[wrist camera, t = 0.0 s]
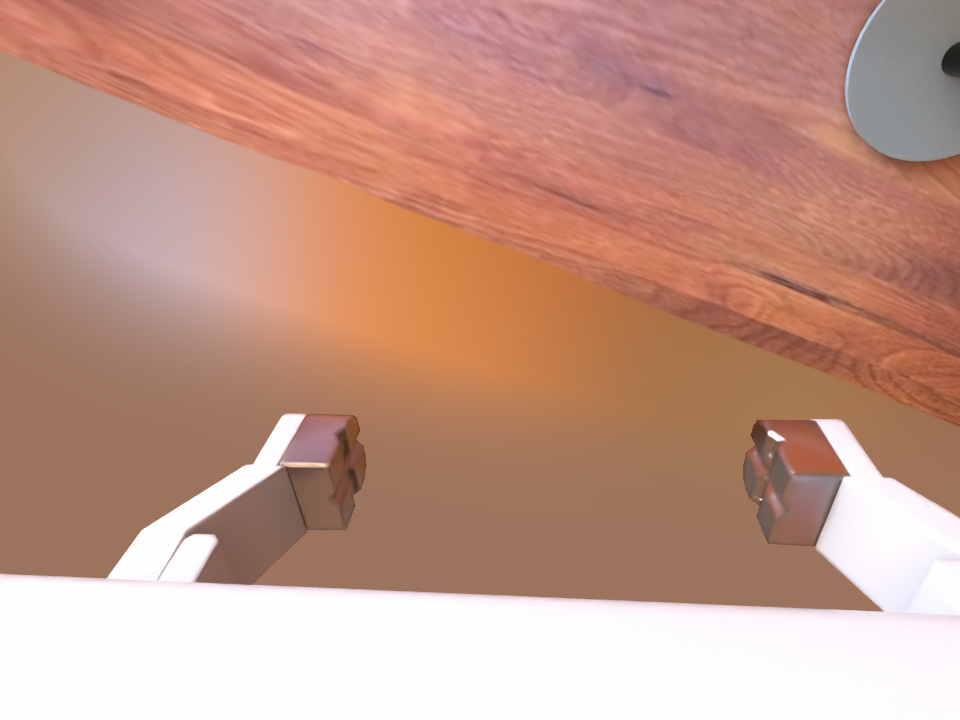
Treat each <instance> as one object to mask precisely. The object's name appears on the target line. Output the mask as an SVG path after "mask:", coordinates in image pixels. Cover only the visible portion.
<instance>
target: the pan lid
mask: <svg viewBox="0 0 960 720" xmlns="http://www.w3.org/2000/svg"><path fill="white" fill-rule="evenodd" d="M845 101H846V107H847V112H848V116H849V118H850V121H851V123H852V126H853V127H854V129H855V131H856V132H857V134H858V135H859V136H860V137H861V138H862V140H863V141H864V142H865V143H866V144H868V145H869V146H870V147H872V148H873V149H874V150H876V151H878V152H880V153H882V154H884V155H886V156H889V157H892V158H895V159H899V160H904V161H917V162H923V161H933V160H939V159H944V158H949V157H952V156H955V155H958V154H960V0H882V1H881V2H880V3H879V4H878V6H877V7H876V9H875V10H874V12H873V13H872V14H871V16H870V17H869V19H868V20H867V22H866V24H865V26H864V27H863V29H862V31H861V33H860V35H859V37H858V39H857V41H856V44H855V46H854V48H853V51H852V54H851V57H850V60H849V64H848V69H847V74H846V82H845Z"/></svg>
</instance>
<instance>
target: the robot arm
mask: <svg viewBox="0 0 960 720" xmlns="http://www.w3.org/2000/svg"><path fill="white" fill-rule="evenodd" d="M359 431H360V428H359V424H358V421H357V418H356V417H355V416H353V415H330V414H329V415H328V414H285V415H284V416H282V417H281V419H280V420H279V422H278V424H277V425H276V427H275V429H274V430H273V432H272V433H271V435H270V437H269V439H268V440H267V442H266V444H265V445H264V447H263V449H262V450H261V452H260V454H259V455H258V457H257V459H256V461H255V462H254V464H253V465H245V466H244V467H242V468H240V469H239V470H237V471H236V472H234V473H232V474H231V475H229V476H228V477H226V478H225V479H223V480H221V481H220V482H218V483H216V484H215V485H213V486H212V487H210V488H208V489H207V490H205V491H204V492H202V493H200V494H199V495H197V496H196V497H194V498H192V499H191V500H189V501H188V502H186V503H185V504H183V505H181V506H180V507H178V508H177V509H175V510H173V511H172V512H170V513H169V514H167V515H166V516H164V517H162V518H161V519H159V520H157V521H156V522H154V523H153V524H151V525H149V526H148V527H146V528H145V529H143V530H142V531H141V532H140V533H139V535H138V536H137V538H136V539H135V540H134V542H133V543H132V544H131V546H130V547H129V549H128V550H127V551H126V553H125V554H124V555H123V557H122V558H121V560H120V561H119V562H118V564H117V565H116V567H115V568H114V569H113V571H112V572H111V574H110V575H109V576H108V577H107V579H105V578H81V577H57V576H34V575H33V576H32V575H11V574H0V720H960V517H958V516H956V515H954V514H953V513H951V512H949V511H948V510H946V509H944V508H942V507H941V506H939V505H937V504H936V503H934V502H932V501H931V500H929V499H927V498H925V497H924V496H922V495H920V494H918V493H917V492H915V491H913V490H912V489H910V488H908V487H906V486H905V485H903V484H901V483H900V482H898V481H896V480H894V479H893V478H883V477H882V475H881V474H880V472H879V471H878V469H877V468H876V467H875V465H874V464H873V463H872V461H871V459H870V458H869V457H868V455H867V454H866V453H865V451H864V450H863V448H862V447H861V445H860V444H859V443H858V441H857V440H856V438H855V437H854V435H853V434H852V432H851V431H850V430H849V428H848V427H847V425H846V424H845V423H844V422H843V421H841V420H840V419H812V420H757V421H756V423H755V424H754V426H753V429H752V433H751V437H752V439H753V441H754V443H755V446H753V447H752V448H751V449H750V450H748V451H747V452H746V456H745V460H744V465H743V470H744V471H743V476H744V483H745V487H746V491H747V493H748V496H749V499H751V500H752V501H753V502H755V503H756V504H757V505H759V506H760V507H759V510H758V513H757V518H758V521H759V523H760V526H761V528H762V530H763V533H764V535H765V538H766V540H767V542H768V544H783V545H800V546H815V549H816V550H817V551H818V552H819V553H820V554H821V555H822V556H824V557H825V558H826V559H827V560H828V561H829V562H830V563H831V564H832V565H834V566H835V567H836V568H837V569H838V570H839V571H840V572H841V573H842V574H843V575H844V576H846V577H847V578H848V579H849V580H850V581H851V582H852V583H853V584H854V585H856V586H857V587H858V588H859V589H860V590H861V591H862V592H863V593H864V594H865V595H866V596H868V597H869V598H870V599H871V600H872V601H873V602H874V603H875V604H877V605H878V607H880V608H881V609H882V610H883V611H884V612H876V611H875V612H874V611H852V610H829V609H804V608H779V607H755V606H734V605H711V604H710V605H709V604H687V603H686V604H685V603H666V602H643V601H620V600H596V599H573V598H549V597H525V596H502V595H501V596H500V595H479V594H455V593H453V594H452V593H429V592H408V591H384V590H360V589H338V588H314V587H291V586H267V585H252V584H253V583H254V582H255V581H256V580H257V579H258V578H259V577H260V576H262V575H263V574H264V573H265V572H266V571H267V570H268V569H269V568H270V567H271V566H272V565H273V564H274V563H275V562H276V561H277V560H278V559H279V558H280V557H281V556H282V555H284V554H285V552H287V551H288V550H289V549H290V548H291V547H292V546H293V545H294V544H295V543H296V542H297V541H298V540H299V539H300V538H301V537H302V536H303V535H304V534H305V533H306V532H307V531H306V530H347V527H348V524H349V522H350V519H351V516H352V513H353V511H354V508H355V502H354V498H353V495H354V494H356V493H357V492H358V491H359V490H361V487H362V485H363V481H364V478H365V470H366V455H365V450H364V446H363V445H362V444H361V443H360V442H359V441H358V440H356V439H357V437H358V434H359Z"/></svg>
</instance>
